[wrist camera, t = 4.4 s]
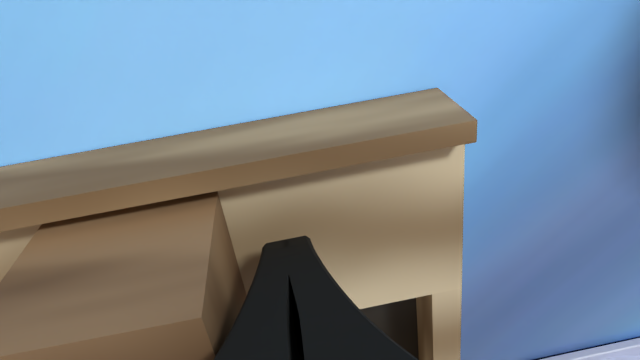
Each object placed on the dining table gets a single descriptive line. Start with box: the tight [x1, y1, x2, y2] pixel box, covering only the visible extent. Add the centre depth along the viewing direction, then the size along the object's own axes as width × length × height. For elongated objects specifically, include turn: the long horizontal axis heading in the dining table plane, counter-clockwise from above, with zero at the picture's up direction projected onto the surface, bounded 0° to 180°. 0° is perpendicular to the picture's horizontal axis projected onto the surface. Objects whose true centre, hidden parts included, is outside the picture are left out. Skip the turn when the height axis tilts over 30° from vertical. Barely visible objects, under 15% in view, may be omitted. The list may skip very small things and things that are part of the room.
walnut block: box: [0, 191, 247, 360], centre depth 11 cm, size 4×4×4 cm
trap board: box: [0, 88, 477, 360], centre depth 15 cm, size 12×20×4 cm, turn 98°
